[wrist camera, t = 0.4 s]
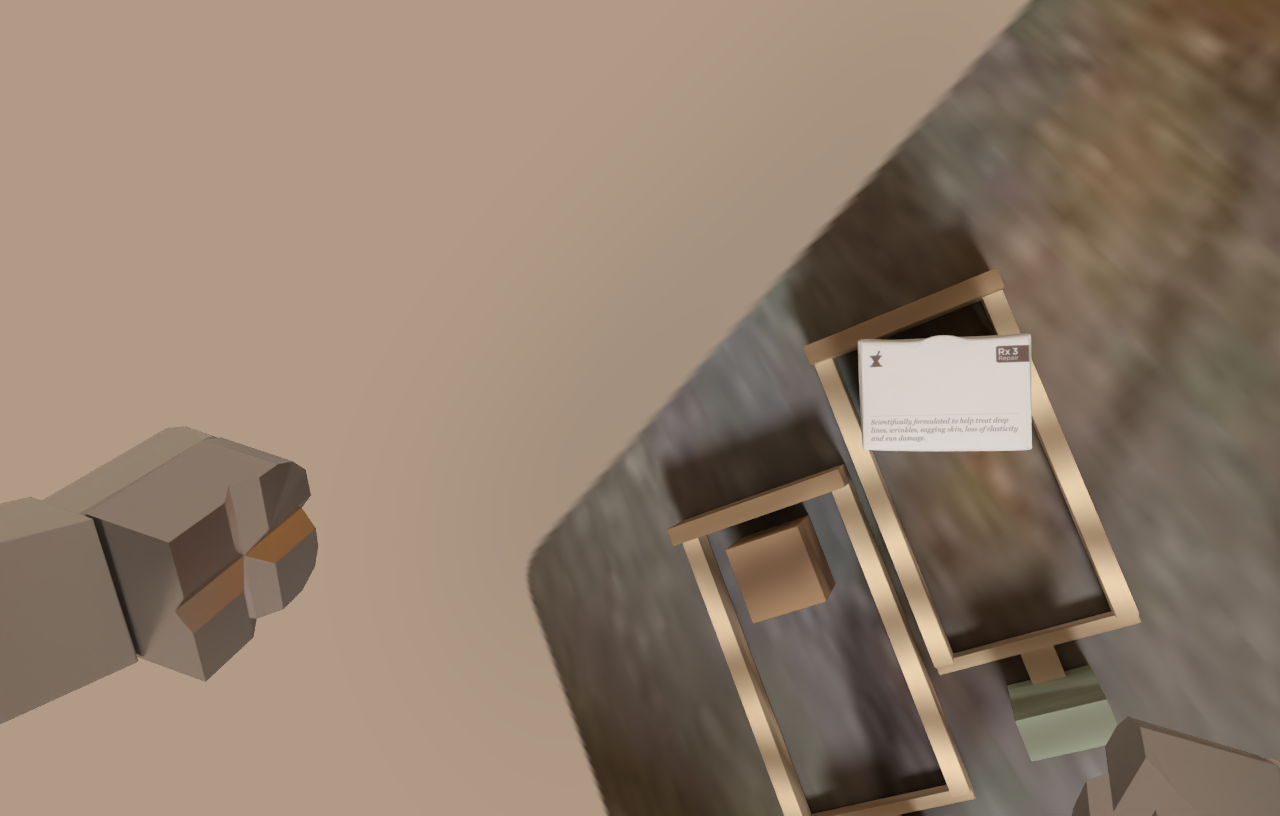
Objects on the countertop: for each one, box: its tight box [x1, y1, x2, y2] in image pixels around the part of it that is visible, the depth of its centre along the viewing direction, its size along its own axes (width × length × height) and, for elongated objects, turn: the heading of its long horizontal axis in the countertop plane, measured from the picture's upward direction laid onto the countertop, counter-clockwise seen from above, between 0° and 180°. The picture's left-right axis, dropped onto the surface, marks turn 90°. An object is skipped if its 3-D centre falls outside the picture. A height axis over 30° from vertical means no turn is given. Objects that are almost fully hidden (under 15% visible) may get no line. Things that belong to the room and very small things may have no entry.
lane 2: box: [803, 268, 1141, 761], centre depth 52 cm, size 27×12×6 cm, turn 22°
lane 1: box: [667, 463, 975, 816], centre depth 55 cm, size 27×12×6 cm, turn 22°
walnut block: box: [726, 515, 835, 623], centre depth 57 cm, size 5×5×5 cm
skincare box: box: [858, 333, 1032, 451], centre depth 48 cm, size 8×6×15 cm
